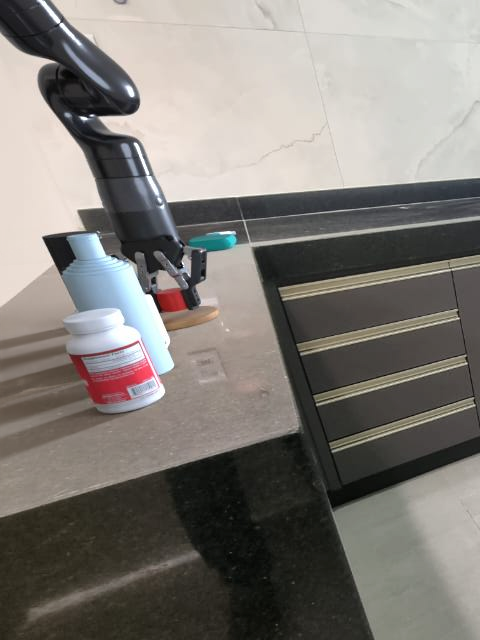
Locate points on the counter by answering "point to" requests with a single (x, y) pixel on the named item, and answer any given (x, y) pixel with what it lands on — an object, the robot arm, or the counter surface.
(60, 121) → the robot arm
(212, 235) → the teal soap bar
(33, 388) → the counter surface
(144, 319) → the bottle
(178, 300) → the cap
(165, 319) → the coaster
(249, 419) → the counter surface
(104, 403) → the pill bottle
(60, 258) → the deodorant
